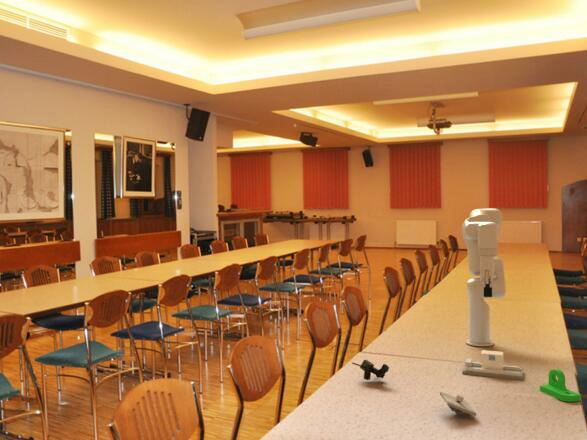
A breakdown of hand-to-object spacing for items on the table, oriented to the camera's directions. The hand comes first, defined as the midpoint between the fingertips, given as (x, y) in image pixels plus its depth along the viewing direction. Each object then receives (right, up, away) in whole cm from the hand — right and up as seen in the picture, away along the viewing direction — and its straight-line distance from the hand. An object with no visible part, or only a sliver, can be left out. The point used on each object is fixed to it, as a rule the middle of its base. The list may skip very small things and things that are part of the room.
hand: (487, 296), depth 216 cm
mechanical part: (+13, -30, -33) cm, 47 cm away
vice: (-47, -28, -19) cm, 58 cm away
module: (-1, -28, -8) cm, 29 cm away
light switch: (-29, -30, -42) cm, 59 cm away
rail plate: (-1, -29, -8) cm, 31 cm away
